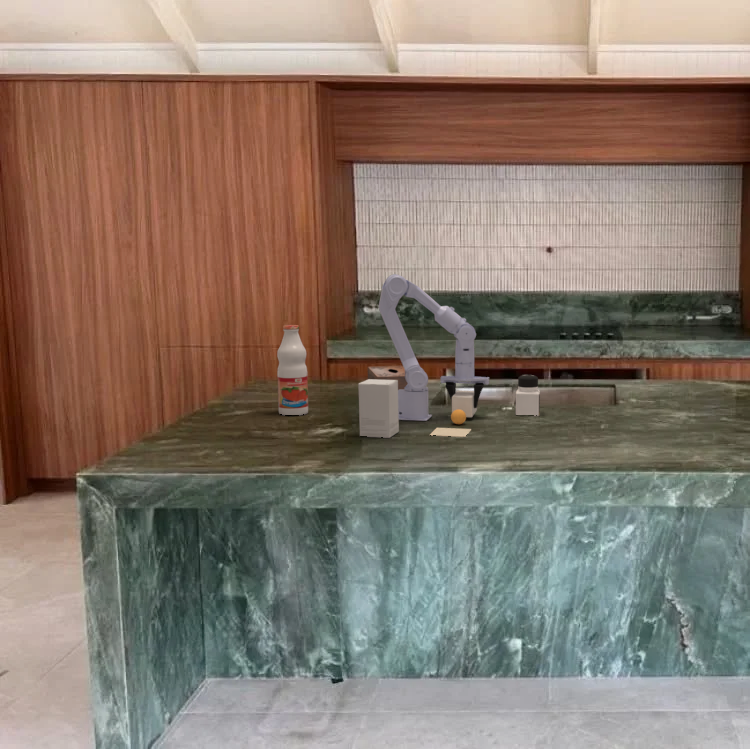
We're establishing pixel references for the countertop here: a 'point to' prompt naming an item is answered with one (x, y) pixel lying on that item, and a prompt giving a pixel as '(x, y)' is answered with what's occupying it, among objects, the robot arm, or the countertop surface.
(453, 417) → the ball
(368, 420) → the supplement box
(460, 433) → the mark
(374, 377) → the tissue box cover
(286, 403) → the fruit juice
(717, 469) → the countertop surface
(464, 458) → the countertop surface
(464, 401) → the white rectangular prism
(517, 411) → the medicine bottle
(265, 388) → the countertop surface
